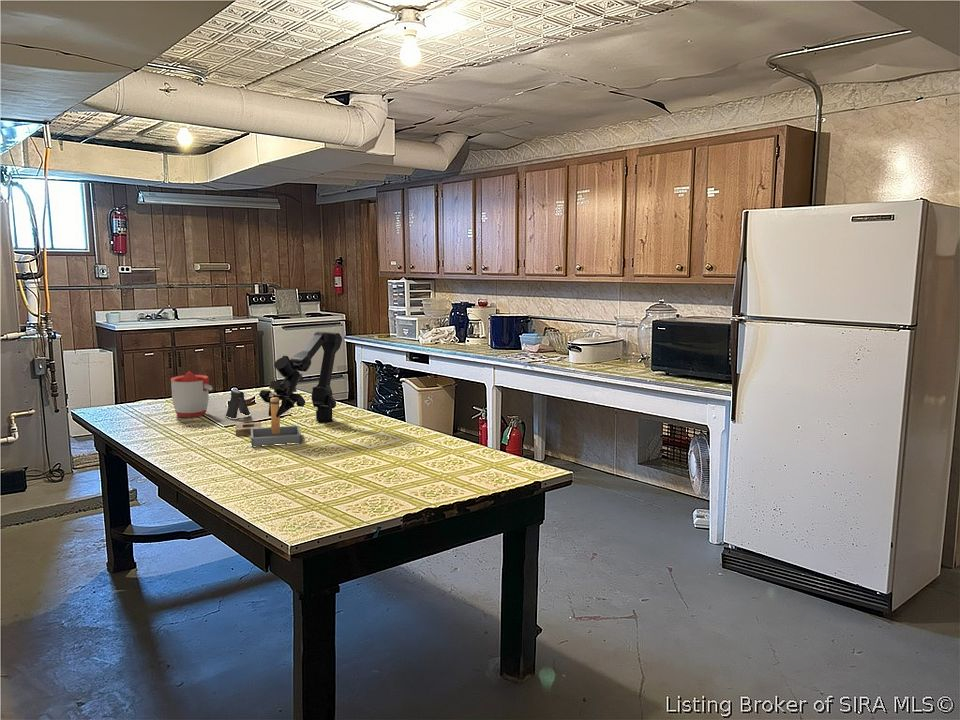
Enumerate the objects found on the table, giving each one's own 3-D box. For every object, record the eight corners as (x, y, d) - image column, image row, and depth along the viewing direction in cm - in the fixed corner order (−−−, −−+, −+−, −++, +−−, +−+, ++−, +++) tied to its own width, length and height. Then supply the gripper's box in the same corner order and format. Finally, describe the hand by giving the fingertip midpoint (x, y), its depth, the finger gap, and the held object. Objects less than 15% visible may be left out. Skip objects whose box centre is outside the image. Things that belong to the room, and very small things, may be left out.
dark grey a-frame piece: (232, 420, 302) (231, 393, 300) (225, 417, 306) (224, 391, 304) (251, 416, 308) (250, 390, 306) (244, 414, 312) (243, 388, 310)
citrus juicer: (206, 419, 302) (204, 374, 298) (166, 419, 302) (163, 374, 298) (219, 411, 317) (217, 368, 314) (181, 410, 317) (179, 367, 314)
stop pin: (276, 431, 274) (275, 397, 272) (281, 432, 272) (280, 398, 270) (269, 433, 272) (268, 398, 270) (274, 434, 270) (273, 399, 268)
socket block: (261, 427, 290) (260, 421, 290) (261, 434, 281) (261, 428, 281) (235, 429, 287) (235, 423, 287) (235, 435, 278) (235, 429, 278)
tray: (298, 433, 282) (298, 425, 282) (301, 443, 269) (301, 435, 268) (250, 437, 276) (250, 428, 276) (251, 447, 263) (251, 438, 262)
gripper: (260, 370, 275) (243, 402, 267) (300, 374, 269) (283, 407, 260) (274, 385, 284) (257, 417, 275) (312, 389, 277) (296, 423, 269)
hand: (273, 416), depth 270 cm, fingers closed on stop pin, 3 cm apart
